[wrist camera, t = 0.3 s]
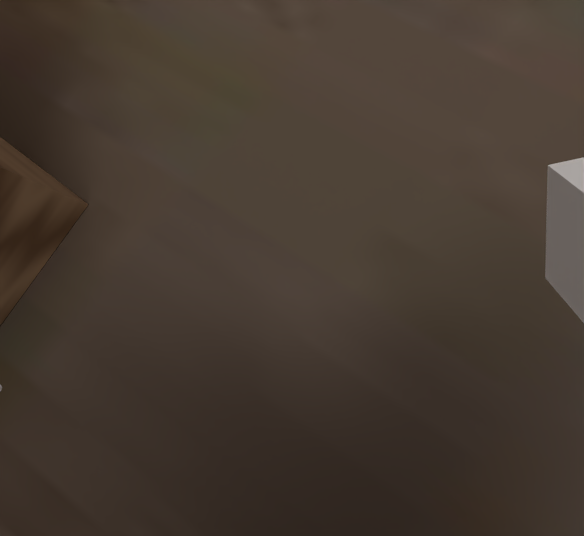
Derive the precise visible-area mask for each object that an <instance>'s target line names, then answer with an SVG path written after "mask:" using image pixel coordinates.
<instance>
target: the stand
mask: <svg viewBox="0 0 584 536" xmlns="http://www.w3.org/2000/svg"><path fill="white" fill-rule="evenodd" d="M87 206H88V204H87V203H86V202H85V201H83V200H82V199H81V198H79V197H78V196H77V195H75V194H74V193H73V192H72V191H70V190H69V189H68V188H66V187H65V186H64V185H62V184H61V183H60V182H58V181H57V180H56V179H55V178H53V177H52V176H51V175H49V174H48V173H47V172H45V171H44V170H43V169H42V168H40V167H39V166H38V165H36V164H35V163H34V162H32V161H31V160H30V159H28V158H27V157H26V156H25V155H23V154H22V153H21V152H19V151H18V150H17V149H15V148H14V147H13V146H12V145H10V144H9V143H8V142H6V141H5V140H4V139H2V138H1V137H0V326H1V324H2V323H3V322H4V320H5V319H6V317H7V316H8V315H9V313H10V312H11V310H12V309H13V308H14V306H15V305H16V304H17V302H18V301H19V299H20V298H21V297H22V295H23V294H24V293H25V291H26V290H27V288H28V287H29V286H30V284H31V283H32V282H33V280H34V279H35V277H36V276H37V275H38V273H39V272H40V271H41V269H42V268H43V266H44V265H45V264H46V262H47V261H48V260H49V258H50V257H51V255H52V254H53V253H54V251H55V250H56V249H57V247H58V246H59V244H60V243H61V242H62V240H63V239H64V237H65V236H66V235H67V233H68V232H69V231H70V229H71V228H72V226H73V225H74V224H75V222H76V221H77V220H78V218H79V217H80V215H81V214H82V213H83V211H84V210H85V209H86V207H87Z"/></svg>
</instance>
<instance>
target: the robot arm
mask: <svg viewBox="0 0 584 536" xmlns="http://www.w3.org/2000/svg"><path fill="white" fill-rule="evenodd" d="M545 278H546V279H547V280H548V282H549V283H550V284H551V285H552V286H553V288H554V289H555V290H556V291H557V292H558V293H559V295H560V296H561V297H562V298H563V299H564V300H565V302H566V303H567V304H568V305H569V306H570V307H571V309H572V310H573V311H574V312H575V313H576V314H577V316H578V317H579V318H580V319H581V320H582V321H583V323H584V158H579V159H574V160H570V161H565V162H560V163H556V164H551V165H548V179H547V222H546V266H545ZM1 389H2V386H1V384H0V391H1Z"/></svg>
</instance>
